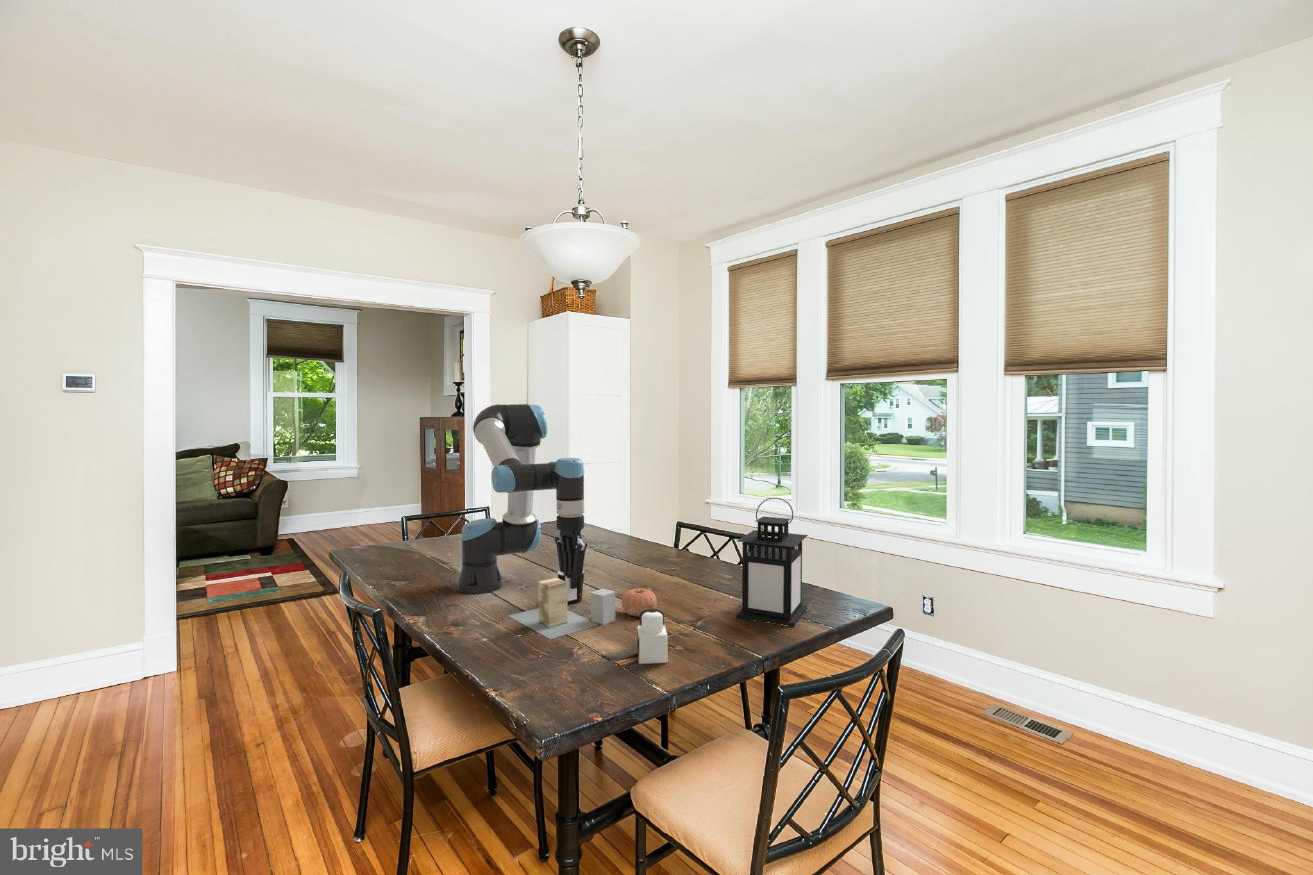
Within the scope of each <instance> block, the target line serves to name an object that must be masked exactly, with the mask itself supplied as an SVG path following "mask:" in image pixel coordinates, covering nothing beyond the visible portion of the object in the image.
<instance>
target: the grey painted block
mask: <svg viewBox="0 0 1313 875" xmlns="http://www.w3.org/2000/svg"><path fill="white" fill-rule="evenodd" d="M615 620H616V591H614V590H610V589H606V588H600V589H597V590H594V591H592V592H590V621H592V622H594V623H596V624H599V625H606V624H608V623H611V622H614V621H615Z"/></svg>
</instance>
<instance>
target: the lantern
mask: <svg viewBox="0 0 1313 875" xmlns="http://www.w3.org/2000/svg"><path fill="white" fill-rule="evenodd" d="M774 499H775V500H780V501H783V502H785V503H786V504H787V505H788V506H789V507H790V510H791V518H788V517H787V518H786V517H777V516H775V517H774V516H773V517H772V516H761V517H759V518H758V510H759V509H760V507H761V505H762V504H763V503H765V502H766V501H769V500H774ZM755 518H756V520H755V521H754V522H755V523H756V522H757V530H756V529H754V530H752V531H750V532H749V533H747V534H745V535H744V536H742V537H740V538H739V539H737V540H736V542H739V543H740V542H741V543H742V568H741V569H742V571H741V572H742V574H741V575H742V581H741V583H742V586H741V588H742V590H741V591H742V595H741V596H742V598H741V599H742V602H741V603H742V604H741V606H742V607H741V609H740V610H739V611H738V612H737V613H736V614H735V619H738V618H739V620H744V619H747V620H746V621H751V620H756V621H755V622H757V621H761V622H760V623H763V622H770V623H775V624H774V625H776V624H783V625H788V626H795V627H796V625H797V624H798V623H797V622H799V621H800V620H801V618H802V617H803V616H804V614H805V613H806V611H807V610H808V605H807V604H803V603H802V602H803V600H802V599H803V598H802V595H803V592H802V590H803V589H802V588H803V584H802V583H803V540H805V539H806V538H807V537H808V536H809V534H808V535H807V534H800V533H799V534H798V533H791V532H790V533H789V524H791V523H792V521H793V520H794V510H793V507H792V505H791V504H790V503H789V502H788V501H786V500H785V499H784V498H781V497H768V498H767V499H764V500H763V501H761V503H760V504H759V505H758V506H757V508H756V513H755ZM769 527H771V528H770V529H771V530H770V531H769ZM776 527H777V532H776ZM806 609H807V610H806ZM805 610H806V611H805ZM804 612H805V613H804ZM803 613H804V614H803ZM802 615H803V616H802ZM801 616H802V617H801ZM800 617H801V618H800ZM799 619H800V620H799ZM798 620H799V621H798ZM796 623H797V624H796ZM795 624H796V625H795ZM788 626H787V627H788Z"/></svg>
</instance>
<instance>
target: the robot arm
mask: <svg viewBox="0 0 1313 875" xmlns="http://www.w3.org/2000/svg"><path fill="white" fill-rule="evenodd" d="M472 430H473V434H474V437H475V439H476V440H477V442H478V443H479V444H481V445H482V446H483V448H484V450H485V453H486V454H487V456H488V459H489V460H490V462H491V464H492V467H493V468H492V471H491V485H492V489H493V491H494V492H496V493H506V494H507V508H506V509H507V511H506V512H505V513H504V514H503V515H502V521H497V520H496V518H495V517H493V518H492V517H489V518H480V519H479V518H478V519H475V520H471V521H469V522H466V523H464V525H463V526H462V528H461V537H460V540H461V570H460V572H459V576H458V579H457V582H456V587H457V591H458V592H460V593H463V594H470V595H471V594H476V595H477V594H485V593H490V592H491V593H492V592H494V591H498V590H500V589H501V588H502V587H503V577H502V575H501V572H500V569H499V566H498V562H497V561H498V556H507V555H516V554H526V553H529V552H534V551H536V550H537V548H538V547H539V546H540V543H541V537H542V536H541V535H542V530H541V529H542V527H541V522H540V520H539V519H537V516H536V514H535V513H534V512H533V502H534V491H547V490H556V491H555V492H556V493H555V495H556V496H555V499H556V505H555V507H556V514H557V516H556V529H557V530H559V535H558V536H554V541H555V544H556V551H557V557H558V566H559V571H560V572H563V573H564V576H565V592H566V600H567V601H571V600H575V599H577V576H580V575H582V571H583V570H584V564H585V557H586V556H585V554H586V550H587V547H588V543H587V542H584V541H583V540H582V539H583V536H582V532H581V531H582V530H583V529H584V528H585V516H584V513H585V475H584V474H585V468H584V467H585V466H584V461H583V459H581V458H578V457H577V458H576V457H563V458H558V459H557V460H556V461H549V462H547V463H546V462H545V463H536V450H537V448H538V447H539V446H541V441H542V440H543V439H545V438H546V437H547V435H548V422H547V417H546V414H545V410H544V409H543V407H541V405H538V404H529V403H523V404H522V403H518V404H517V403H516V404H498V403H497V404H493V405H492V404H491V405H489V406H488V407H486V408H484V409H483V410H481V411H480V412H479V413H478V414H477V416H476V417H475V418H474V422H473V426H472Z"/></svg>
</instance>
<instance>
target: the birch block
mask: <svg viewBox="0 0 1313 875" xmlns="http://www.w3.org/2000/svg"><path fill="white" fill-rule="evenodd" d="M537 586H538V588H537V591H538V594H537V597H538V598H537V599H538V601H537V602H538V604H537V605H538V608H539V623H541V624H543V625H545V626H547V627H548V628H552V627H555V626H559V625H563V624H566V623H568V611H569V610H568V609H569V608H568V606H569V605H568V604H567V600H566V592H565V581H563V580H561V579H558V577H554V578H553V577H552V578H548V579H543V580H540V581H539V580H538V583H537Z"/></svg>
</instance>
